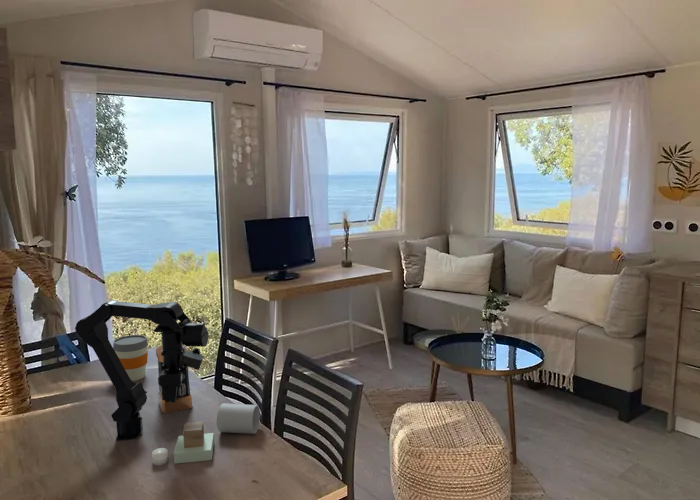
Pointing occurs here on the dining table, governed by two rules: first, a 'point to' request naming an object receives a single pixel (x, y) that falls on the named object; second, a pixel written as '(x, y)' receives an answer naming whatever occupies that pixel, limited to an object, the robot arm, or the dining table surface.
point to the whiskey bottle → (182, 394)
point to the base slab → (194, 450)
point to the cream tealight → (160, 456)
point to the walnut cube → (193, 434)
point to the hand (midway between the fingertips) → (175, 395)
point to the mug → (238, 418)
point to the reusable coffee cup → (132, 354)
